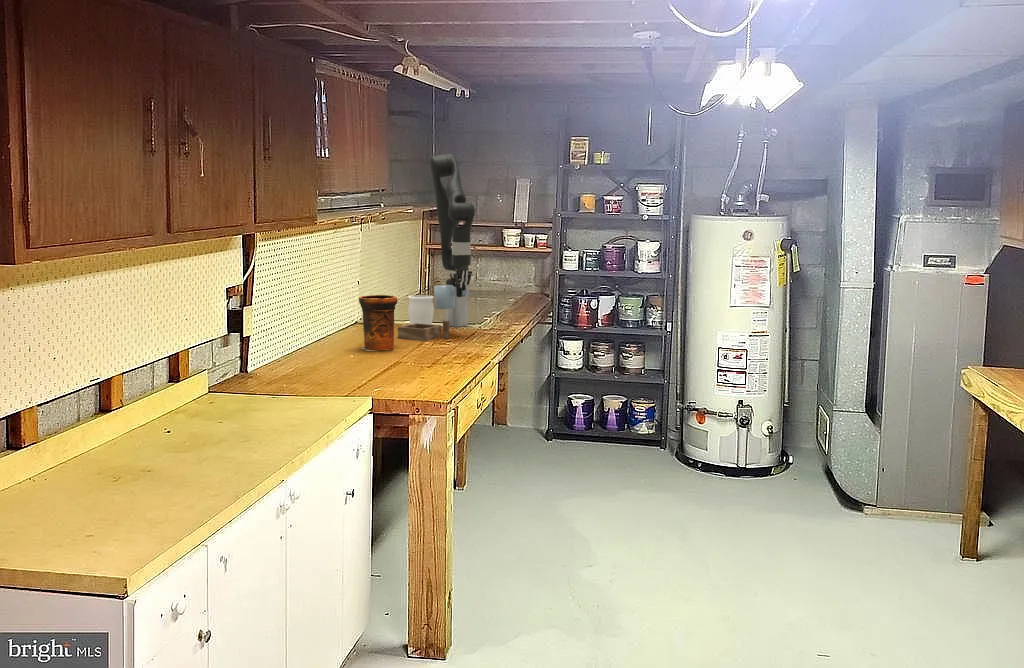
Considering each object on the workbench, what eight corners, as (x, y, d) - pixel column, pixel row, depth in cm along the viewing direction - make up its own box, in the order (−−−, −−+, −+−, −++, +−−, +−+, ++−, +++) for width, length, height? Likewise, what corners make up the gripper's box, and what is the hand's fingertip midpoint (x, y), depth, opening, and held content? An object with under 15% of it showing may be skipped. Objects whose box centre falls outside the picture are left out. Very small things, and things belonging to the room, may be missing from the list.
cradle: (415, 335, 405) (415, 316, 404) (454, 339, 396) (454, 320, 395) (396, 340, 393) (395, 320, 392) (435, 344, 384) (435, 324, 383)
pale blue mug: (431, 308, 400) (430, 286, 399) (442, 306, 407) (441, 285, 406) (462, 309, 392) (461, 286, 391) (473, 307, 399) (472, 284, 398)
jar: (435, 330, 420) (435, 295, 418) (431, 333, 410) (431, 298, 408) (411, 329, 421) (410, 294, 419) (406, 333, 411) (405, 297, 409)
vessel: (365, 352, 364) (365, 298, 361) (354, 347, 377) (354, 295, 374) (403, 350, 370) (402, 297, 368) (391, 345, 383) (390, 294, 380)
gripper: (462, 252, 402) (462, 294, 405) (443, 253, 390) (443, 297, 393) (478, 252, 398) (478, 295, 401) (460, 254, 386) (459, 299, 389)
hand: (461, 296), depth 397 cm, fingers closed on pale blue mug
